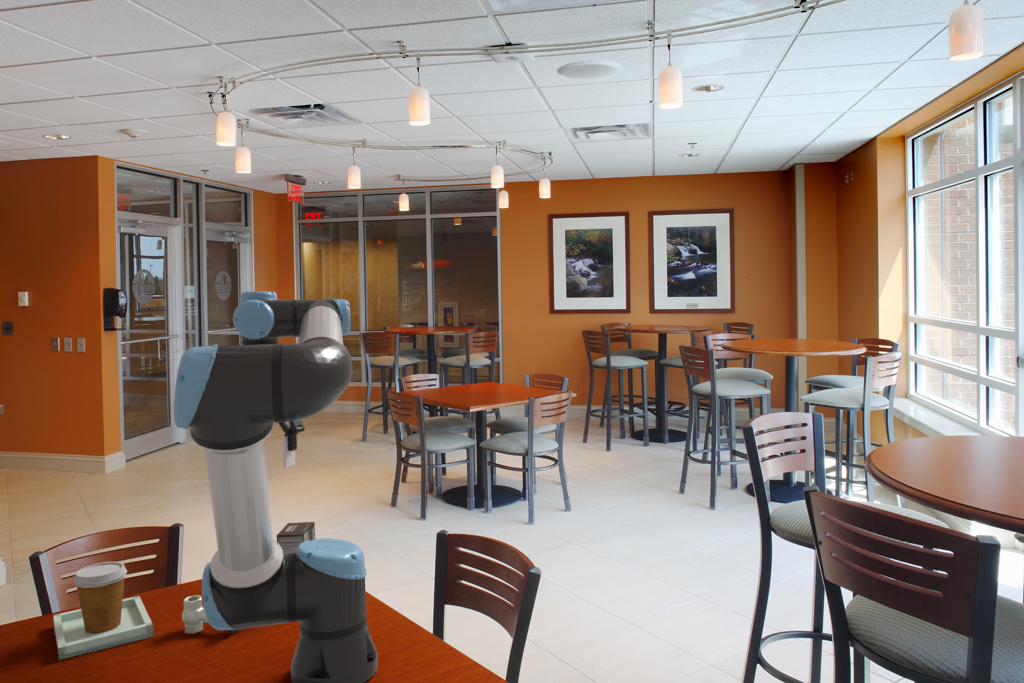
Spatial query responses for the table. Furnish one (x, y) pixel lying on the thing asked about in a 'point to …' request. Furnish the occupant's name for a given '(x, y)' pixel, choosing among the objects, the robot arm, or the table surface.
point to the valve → (195, 615)
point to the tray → (79, 641)
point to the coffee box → (295, 535)
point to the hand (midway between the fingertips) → (264, 463)
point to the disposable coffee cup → (101, 595)
